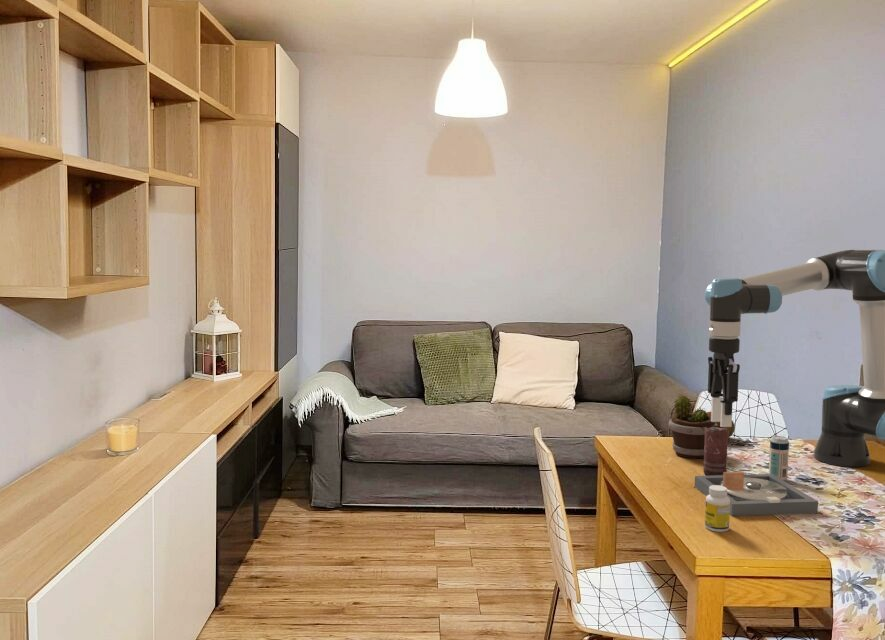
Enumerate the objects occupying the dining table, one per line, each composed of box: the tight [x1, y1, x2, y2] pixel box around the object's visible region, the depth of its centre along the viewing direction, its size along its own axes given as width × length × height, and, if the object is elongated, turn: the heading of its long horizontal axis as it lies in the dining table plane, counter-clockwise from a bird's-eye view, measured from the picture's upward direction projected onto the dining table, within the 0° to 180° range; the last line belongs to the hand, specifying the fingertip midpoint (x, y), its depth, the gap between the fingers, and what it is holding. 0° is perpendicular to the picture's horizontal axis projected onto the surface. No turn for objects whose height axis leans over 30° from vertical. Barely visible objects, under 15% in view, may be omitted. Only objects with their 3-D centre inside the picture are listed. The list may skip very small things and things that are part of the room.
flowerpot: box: [668, 392, 718, 459], centre depth 234 cm, size 14×15×20 cm
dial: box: [721, 471, 787, 501], centre depth 194 cm, size 16×16×6 cm
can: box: [703, 426, 730, 476], centre depth 214 cm, size 6×6×14 cm
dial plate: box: [694, 473, 819, 517], centre depth 194 cm, size 22×22×4 cm
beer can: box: [768, 435, 790, 482], centre depth 210 cm, size 5×5×12 cm
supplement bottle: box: [704, 485, 731, 533], centre depth 175 cm, size 5×5×10 cm
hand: (721, 423), depth 198 cm, fingers open, 5 cm apart
